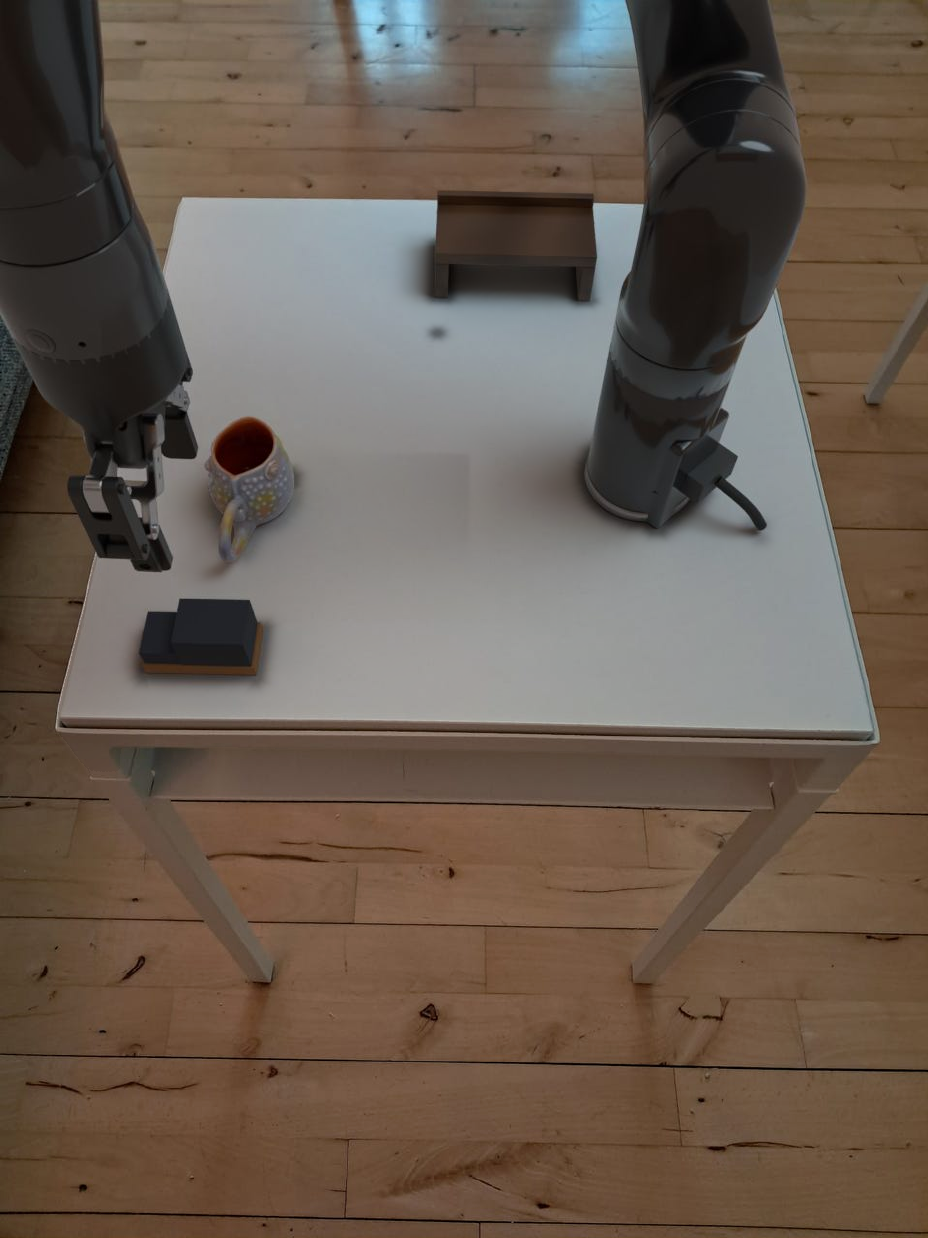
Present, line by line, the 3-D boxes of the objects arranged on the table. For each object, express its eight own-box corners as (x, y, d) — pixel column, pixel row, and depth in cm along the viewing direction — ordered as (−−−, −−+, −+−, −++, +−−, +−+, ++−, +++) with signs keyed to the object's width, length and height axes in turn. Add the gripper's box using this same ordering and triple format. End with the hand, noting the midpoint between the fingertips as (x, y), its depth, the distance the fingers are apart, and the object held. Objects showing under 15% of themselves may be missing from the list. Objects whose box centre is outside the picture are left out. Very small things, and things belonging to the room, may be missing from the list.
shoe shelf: (586, 247, 96) (594, 192, 91) (590, 300, 92) (598, 247, 87) (437, 244, 96) (437, 189, 91) (435, 297, 92) (434, 244, 87)
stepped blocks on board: (263, 629, 73) (252, 598, 69) (257, 675, 71) (245, 646, 67) (155, 627, 73) (138, 596, 69) (145, 673, 71) (127, 643, 67)
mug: (229, 459, 82) (212, 405, 76) (306, 470, 81) (295, 417, 75) (186, 573, 76) (164, 524, 70) (268, 586, 75) (254, 537, 69)
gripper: (133, 415, 40) (210, 609, 54) (192, 203, 48) (247, 423, 62) (-42, 407, 40) (80, 604, 54) (43, 197, 48) (132, 418, 62)
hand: (169, 507), depth 58 cm, fingers open, 8 cm apart
